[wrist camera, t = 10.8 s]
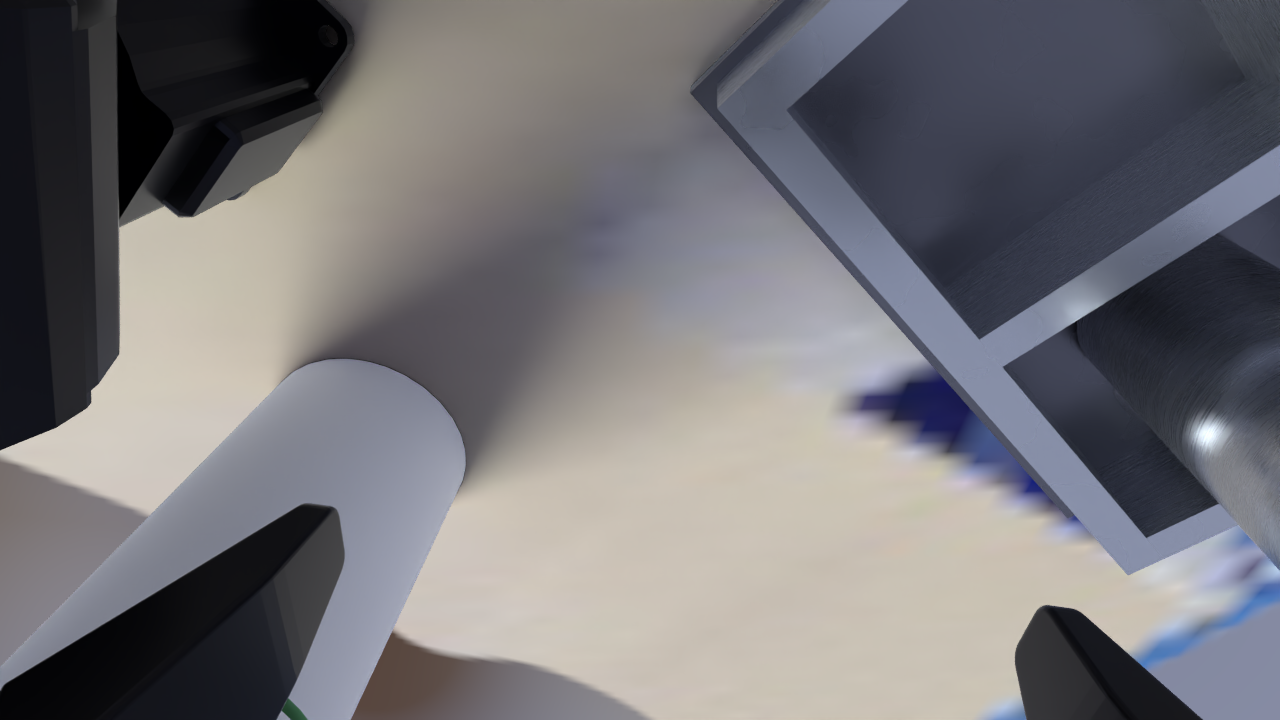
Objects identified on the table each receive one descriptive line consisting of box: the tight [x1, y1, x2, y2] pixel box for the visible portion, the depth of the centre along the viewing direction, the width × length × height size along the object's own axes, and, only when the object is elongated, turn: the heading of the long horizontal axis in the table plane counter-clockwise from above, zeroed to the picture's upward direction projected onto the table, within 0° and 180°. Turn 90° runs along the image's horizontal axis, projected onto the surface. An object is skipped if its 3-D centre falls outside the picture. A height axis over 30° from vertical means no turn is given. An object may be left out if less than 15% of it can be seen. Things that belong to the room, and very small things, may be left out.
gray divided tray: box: [690, 0, 1280, 575], centre depth 17 cm, size 18×11×4 cm, turn 44°
